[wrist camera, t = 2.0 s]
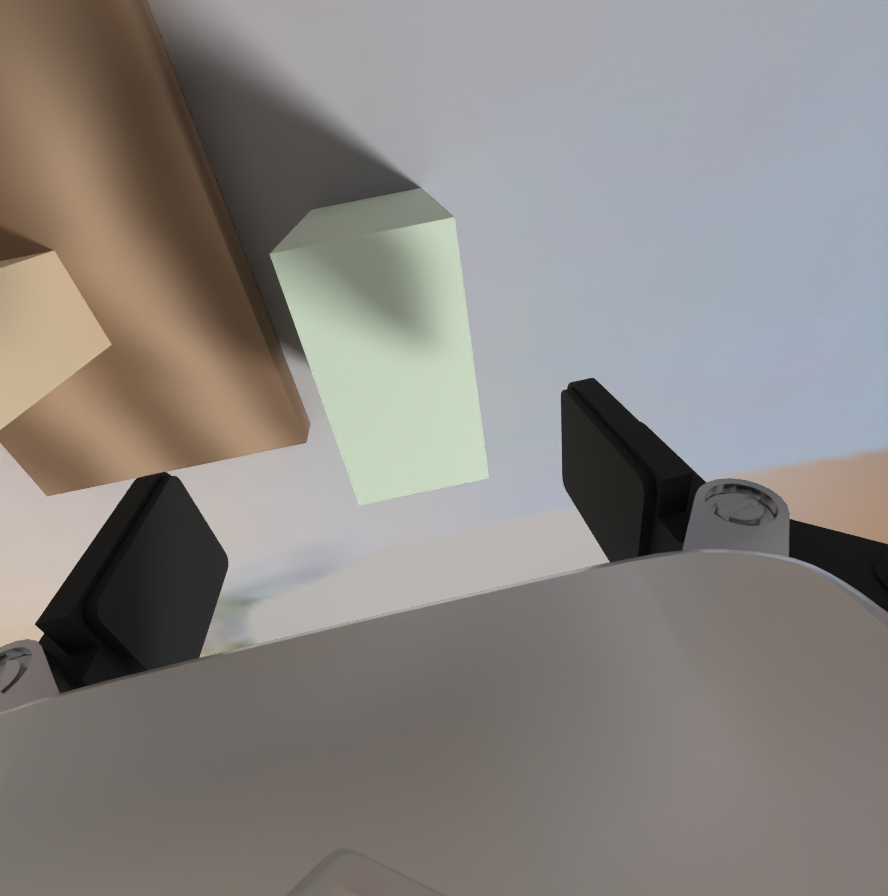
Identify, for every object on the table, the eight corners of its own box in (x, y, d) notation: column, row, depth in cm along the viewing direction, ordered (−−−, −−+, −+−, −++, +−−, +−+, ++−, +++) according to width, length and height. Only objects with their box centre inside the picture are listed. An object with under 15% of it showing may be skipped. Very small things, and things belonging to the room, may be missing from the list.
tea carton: (422, 187, 20) (456, 216, 12) (452, 369, 25) (490, 477, 17) (310, 209, 20) (267, 254, 12) (362, 388, 25) (357, 505, 17)
